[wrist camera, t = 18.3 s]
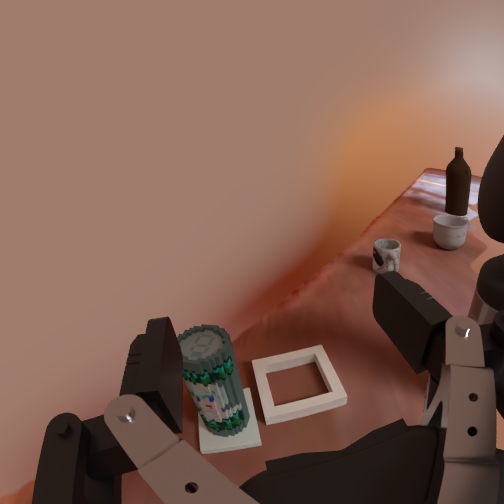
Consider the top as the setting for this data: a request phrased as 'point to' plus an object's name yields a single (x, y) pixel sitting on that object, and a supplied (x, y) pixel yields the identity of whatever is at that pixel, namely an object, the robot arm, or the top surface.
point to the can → (214, 379)
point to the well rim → (301, 407)
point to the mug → (386, 255)
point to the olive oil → (457, 185)
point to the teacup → (450, 231)
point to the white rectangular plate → (239, 441)
